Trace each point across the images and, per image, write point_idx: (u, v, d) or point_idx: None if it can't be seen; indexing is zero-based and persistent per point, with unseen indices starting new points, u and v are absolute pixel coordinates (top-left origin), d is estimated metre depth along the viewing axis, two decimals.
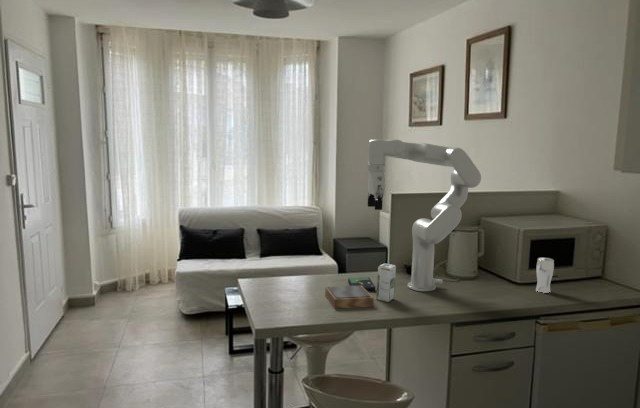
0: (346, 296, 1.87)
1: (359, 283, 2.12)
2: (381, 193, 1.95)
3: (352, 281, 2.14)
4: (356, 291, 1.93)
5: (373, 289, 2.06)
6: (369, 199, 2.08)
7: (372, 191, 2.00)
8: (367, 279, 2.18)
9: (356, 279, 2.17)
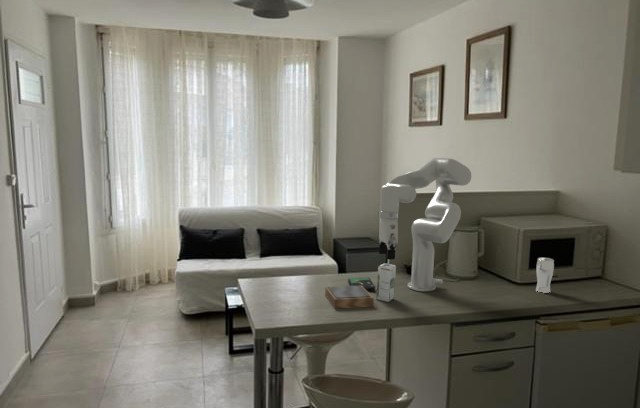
0: (346, 296, 1.87)
1: (358, 283, 2.12)
2: (394, 243, 1.85)
3: (352, 281, 2.14)
4: (356, 291, 1.93)
5: (373, 289, 2.06)
6: (380, 246, 1.98)
7: (384, 239, 1.90)
8: (367, 279, 2.17)
9: (356, 279, 2.17)
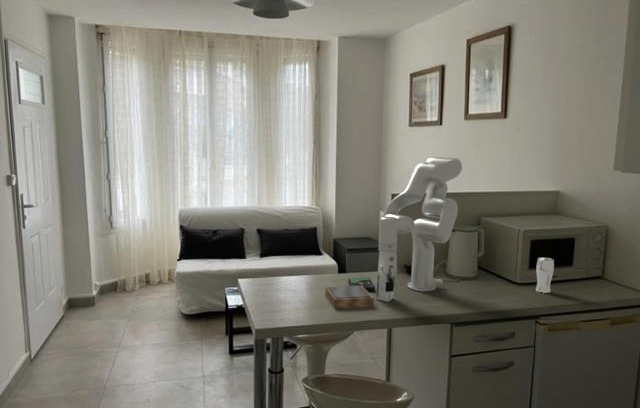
0: (346, 296, 1.87)
1: (358, 283, 2.11)
2: (393, 277, 1.88)
3: (352, 281, 2.14)
4: (356, 291, 1.93)
5: (372, 289, 2.06)
6: None
7: (383, 271, 1.92)
8: (367, 279, 2.17)
9: (356, 279, 2.17)
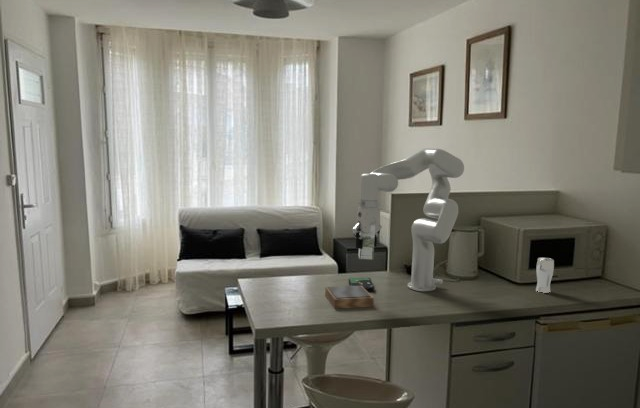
0: (346, 296, 1.87)
1: (358, 283, 2.11)
2: (353, 231, 1.86)
3: (352, 281, 2.14)
4: (356, 291, 1.93)
5: (372, 289, 2.06)
6: None
7: None
8: (367, 279, 2.17)
9: (356, 279, 2.17)
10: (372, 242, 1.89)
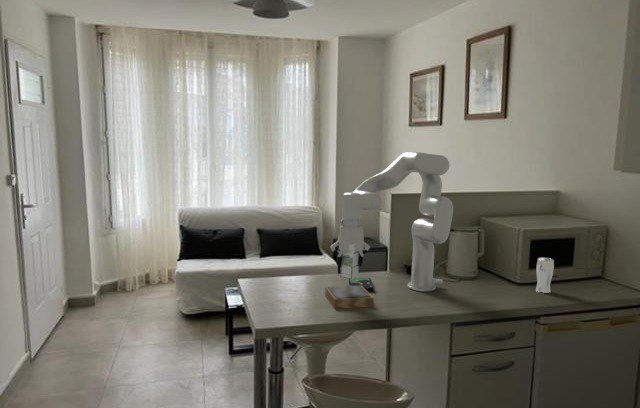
0: (346, 296, 1.87)
1: (358, 283, 2.11)
2: (331, 249, 1.89)
3: (352, 281, 2.14)
4: (356, 291, 1.93)
5: (371, 289, 2.06)
6: None
7: None
8: (367, 279, 2.17)
9: (356, 279, 2.17)
10: (351, 261, 1.88)
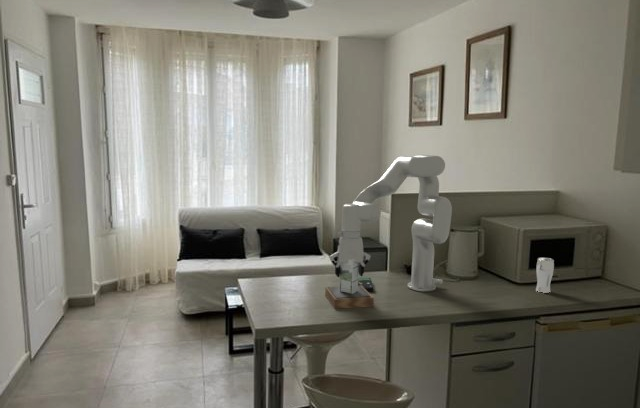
0: (346, 296, 1.87)
1: (358, 283, 2.11)
2: (330, 258, 1.89)
3: None
4: (356, 291, 1.93)
5: (371, 289, 2.05)
6: (359, 267, 1.94)
7: None
8: (368, 279, 2.17)
9: None
10: (350, 276, 1.88)
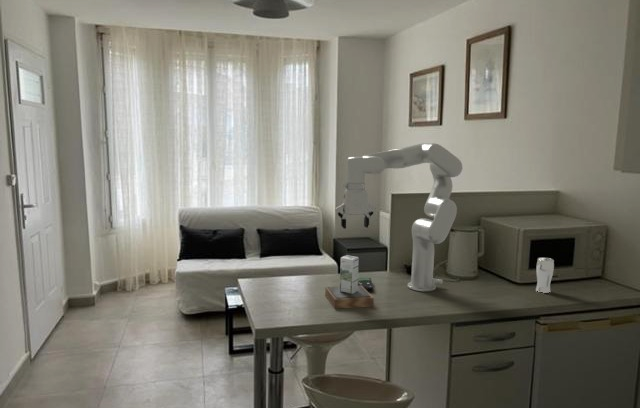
0: (346, 296, 1.87)
1: (358, 283, 2.11)
2: (336, 211, 1.94)
3: None
4: (356, 291, 1.93)
5: (371, 290, 2.05)
6: (364, 219, 1.98)
7: None
8: (368, 279, 2.17)
9: None
10: (350, 276, 1.88)
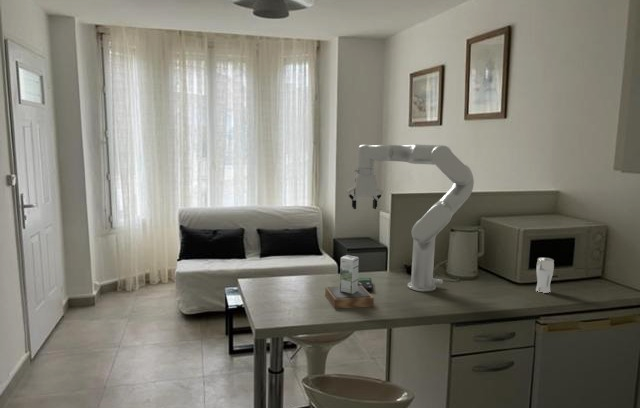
0: (346, 296, 1.87)
1: None
2: (347, 193, 2.16)
3: None
4: (356, 291, 1.93)
5: (370, 290, 2.05)
6: (373, 201, 2.20)
7: None
8: (368, 280, 2.17)
9: None
10: (350, 276, 1.88)
